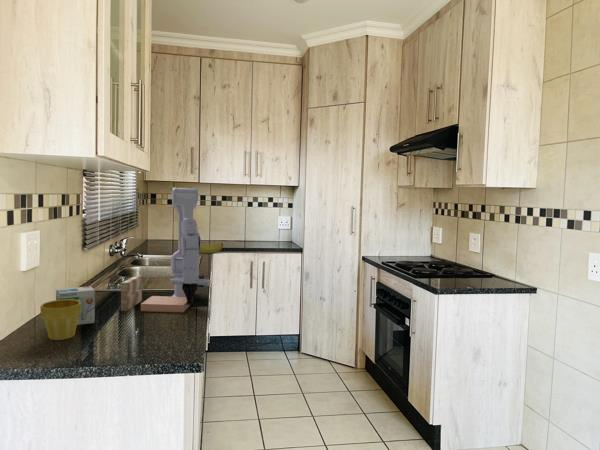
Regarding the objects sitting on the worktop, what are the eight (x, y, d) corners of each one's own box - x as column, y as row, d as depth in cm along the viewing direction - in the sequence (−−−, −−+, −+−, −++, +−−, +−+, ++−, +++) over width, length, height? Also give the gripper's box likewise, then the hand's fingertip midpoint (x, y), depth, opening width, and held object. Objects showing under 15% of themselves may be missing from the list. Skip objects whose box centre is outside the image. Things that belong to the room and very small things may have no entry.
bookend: (136, 300, 173) (136, 275, 172) (141, 300, 173) (141, 275, 172) (120, 310, 158) (121, 282, 157) (126, 311, 158) (126, 283, 157)
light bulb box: (58, 327, 137) (58, 293, 137) (55, 322, 143) (54, 288, 142) (95, 322, 144) (95, 289, 143) (91, 317, 149) (91, 285, 148)
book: (151, 303, 171) (152, 295, 171) (191, 305, 171) (191, 297, 171) (140, 312, 159) (140, 303, 159) (182, 313, 159) (183, 305, 159)
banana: (222, 252, 316) (223, 224, 314) (223, 253, 310) (223, 225, 309) (189, 252, 310) (189, 224, 308) (189, 254, 304) (190, 224, 303)
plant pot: (35, 343, 123) (35, 308, 122) (47, 332, 133) (46, 299, 132) (76, 341, 125) (76, 307, 125) (85, 330, 135) (84, 298, 135)
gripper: (167, 268, 160) (167, 306, 161) (208, 270, 160) (207, 307, 161) (173, 265, 167) (172, 301, 168) (212, 266, 167) (211, 302, 168)
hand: (190, 304), depth 165 cm, fingers closed
